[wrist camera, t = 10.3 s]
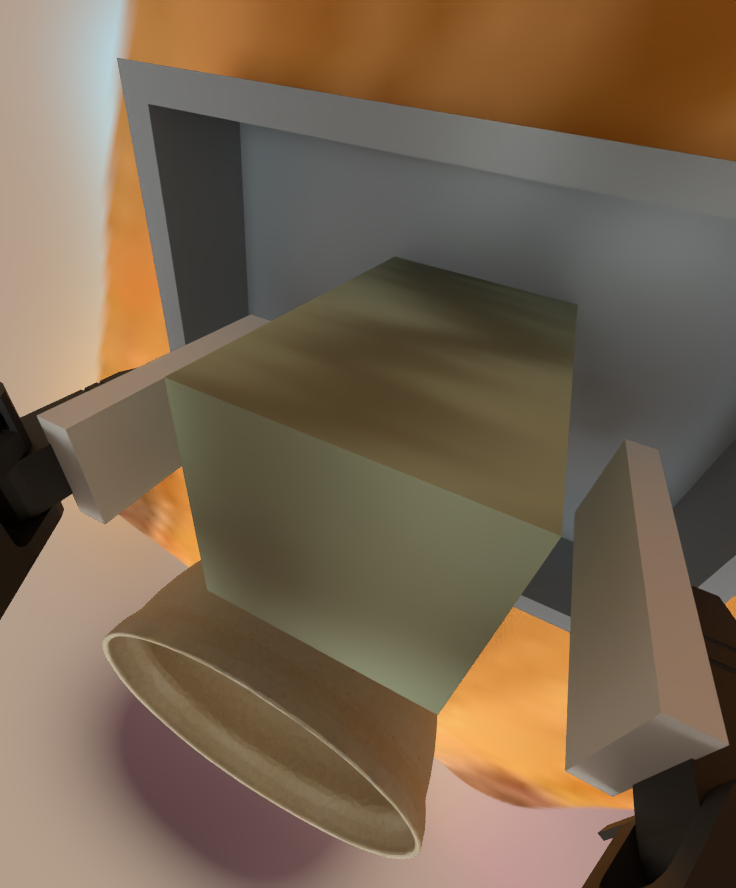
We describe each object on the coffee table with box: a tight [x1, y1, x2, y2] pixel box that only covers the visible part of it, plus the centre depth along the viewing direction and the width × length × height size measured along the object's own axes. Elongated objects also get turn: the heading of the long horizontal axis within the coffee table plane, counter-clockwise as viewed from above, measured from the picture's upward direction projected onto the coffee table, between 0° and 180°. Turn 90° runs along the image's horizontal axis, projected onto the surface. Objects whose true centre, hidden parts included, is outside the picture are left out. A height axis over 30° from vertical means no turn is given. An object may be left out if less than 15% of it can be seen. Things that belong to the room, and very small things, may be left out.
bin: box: [117, 58, 736, 632], centre depth 14 cm, size 20×14×4 cm
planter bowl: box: [103, 560, 437, 859], centre depth 22 cm, size 16×16×11 cm
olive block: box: [164, 257, 577, 715], centre depth 11 cm, size 6×6×10 cm
